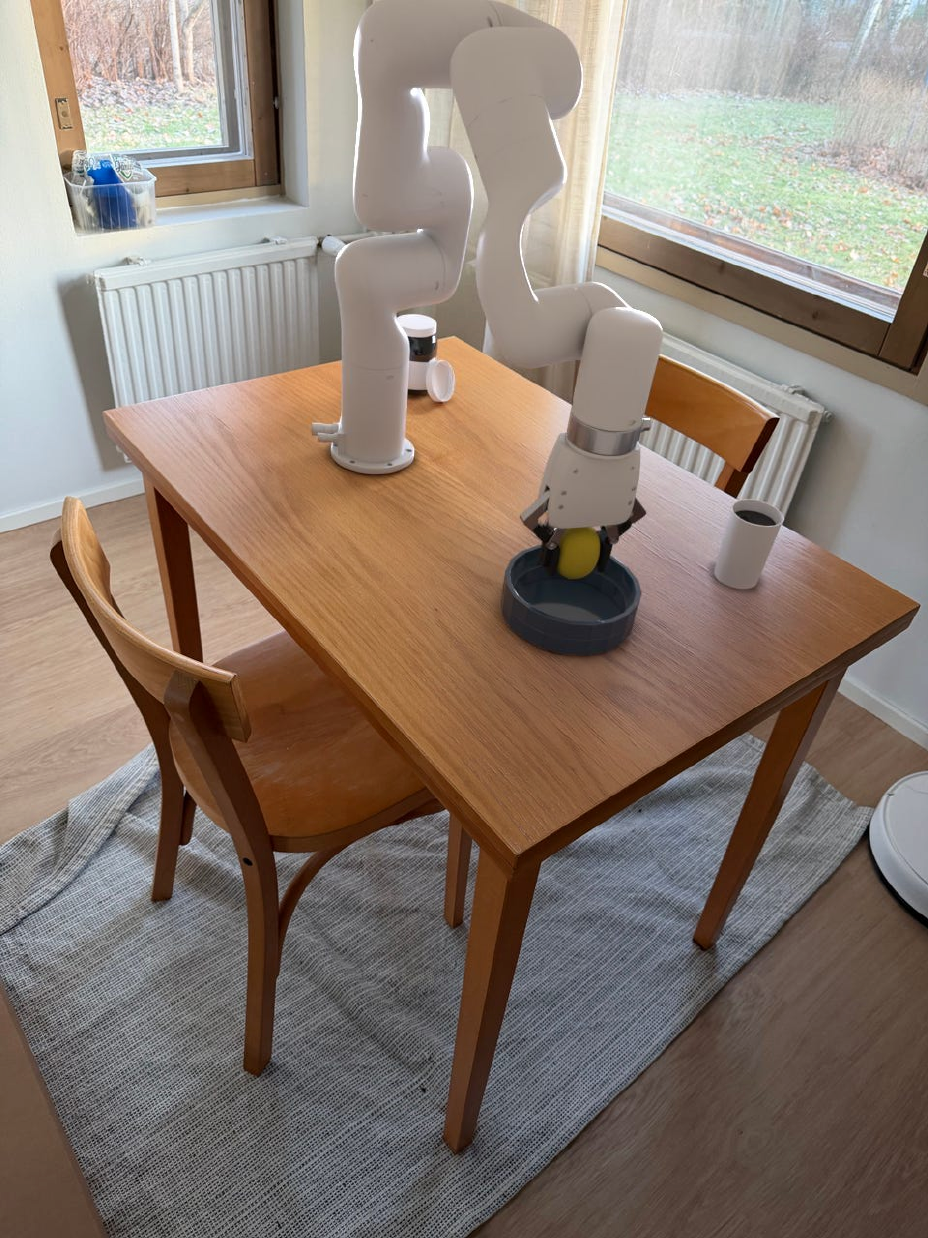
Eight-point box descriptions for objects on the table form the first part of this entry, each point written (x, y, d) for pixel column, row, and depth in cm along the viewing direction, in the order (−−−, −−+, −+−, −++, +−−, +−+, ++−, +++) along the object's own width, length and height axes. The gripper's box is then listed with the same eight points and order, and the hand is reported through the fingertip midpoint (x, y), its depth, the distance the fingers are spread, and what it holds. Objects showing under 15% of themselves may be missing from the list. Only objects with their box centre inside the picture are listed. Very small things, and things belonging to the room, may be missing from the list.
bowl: (504, 653, 103) (509, 619, 100) (497, 571, 116) (502, 539, 113) (642, 661, 104) (652, 628, 101) (621, 579, 117) (629, 547, 114)
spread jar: (395, 372, 161) (398, 308, 154) (457, 380, 161) (463, 316, 153) (383, 401, 152) (386, 333, 144) (450, 409, 151) (455, 342, 144)
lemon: (543, 563, 109) (554, 508, 104) (587, 565, 110) (601, 510, 105) (550, 591, 105) (562, 535, 100) (596, 593, 106) (610, 537, 101)
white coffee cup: (733, 595, 116) (755, 531, 110) (700, 567, 121) (720, 504, 115) (771, 585, 119) (795, 521, 113) (737, 557, 124) (759, 495, 117)
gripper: (660, 411, 100) (625, 544, 112) (515, 416, 95) (494, 555, 107) (691, 444, 95) (650, 580, 106) (538, 452, 90) (513, 593, 101)
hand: (572, 566), depth 106 cm, fingers closed on lemon, 5 cm apart
